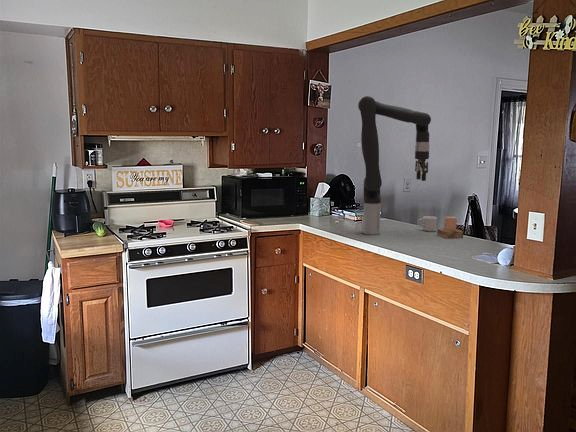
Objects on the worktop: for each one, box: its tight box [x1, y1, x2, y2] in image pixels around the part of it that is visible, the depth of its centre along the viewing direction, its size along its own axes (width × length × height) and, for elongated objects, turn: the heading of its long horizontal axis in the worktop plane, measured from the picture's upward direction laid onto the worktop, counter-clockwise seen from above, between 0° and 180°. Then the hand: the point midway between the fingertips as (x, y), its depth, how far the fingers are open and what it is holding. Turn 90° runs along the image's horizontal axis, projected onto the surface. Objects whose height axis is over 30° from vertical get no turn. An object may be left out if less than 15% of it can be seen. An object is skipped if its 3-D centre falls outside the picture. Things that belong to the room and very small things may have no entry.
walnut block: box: [436, 228, 464, 240], centre depth 292 cm, size 10×10×4 cm
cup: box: [417, 215, 438, 232], centre depth 310 cm, size 11×8×8 cm
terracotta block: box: [443, 216, 458, 231], centre depth 292 cm, size 5×5×7 cm
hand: (421, 180), depth 296 cm, fingers open, 8 cm apart
